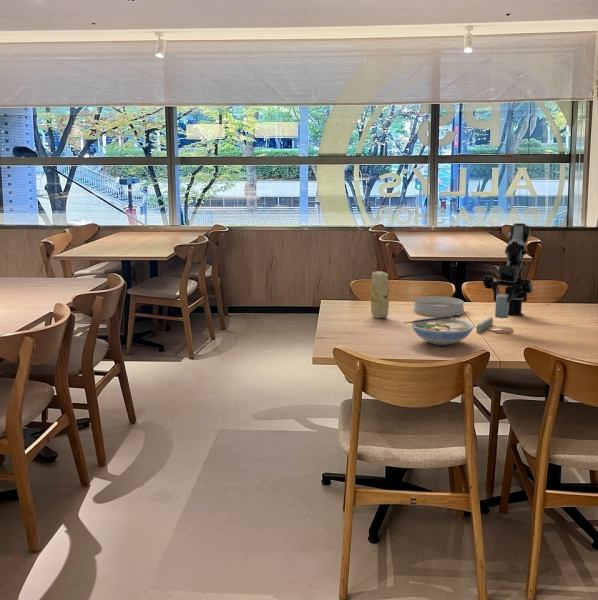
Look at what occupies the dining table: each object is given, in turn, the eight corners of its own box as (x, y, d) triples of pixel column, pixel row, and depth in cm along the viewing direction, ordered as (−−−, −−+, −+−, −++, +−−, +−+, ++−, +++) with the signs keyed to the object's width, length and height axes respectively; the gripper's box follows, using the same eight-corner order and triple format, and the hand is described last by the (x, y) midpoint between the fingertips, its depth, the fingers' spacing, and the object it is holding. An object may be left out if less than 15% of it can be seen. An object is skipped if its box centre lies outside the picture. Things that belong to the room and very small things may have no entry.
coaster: (486, 328, 274) (486, 326, 273) (509, 328, 273) (509, 326, 273) (492, 333, 265) (492, 331, 265) (515, 333, 265) (515, 331, 264)
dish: (446, 305, 320) (446, 294, 319) (473, 314, 299) (474, 303, 298) (404, 309, 312) (405, 298, 311) (430, 318, 292) (430, 307, 291)
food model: (392, 317, 293) (393, 272, 289) (381, 320, 289) (382, 273, 285) (376, 314, 300) (377, 269, 296) (365, 316, 296) (366, 271, 293)
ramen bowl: (430, 354, 236) (431, 332, 234) (396, 339, 256) (396, 318, 255) (488, 346, 246) (489, 324, 244) (450, 333, 266) (451, 312, 265)
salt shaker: (493, 315, 271) (494, 293, 269) (506, 315, 270) (507, 293, 269) (496, 318, 266) (498, 295, 264) (509, 318, 266) (510, 295, 264)
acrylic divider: (489, 324, 279) (490, 317, 279) (492, 324, 279) (492, 317, 278) (476, 332, 266) (476, 325, 266) (479, 332, 266) (479, 325, 265)
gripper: (485, 255, 272) (473, 286, 265) (532, 259, 261) (520, 291, 255) (491, 272, 280) (480, 302, 273) (537, 276, 269) (526, 308, 262)
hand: (501, 301), depth 266 cm, fingers closed on salt shaker, 5 cm apart
